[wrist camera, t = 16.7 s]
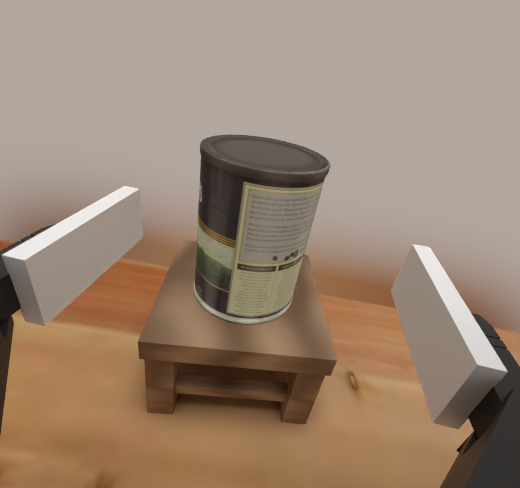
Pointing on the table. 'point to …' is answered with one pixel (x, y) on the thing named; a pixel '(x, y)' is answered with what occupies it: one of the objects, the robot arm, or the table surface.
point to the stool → (234, 345)
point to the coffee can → (253, 224)
